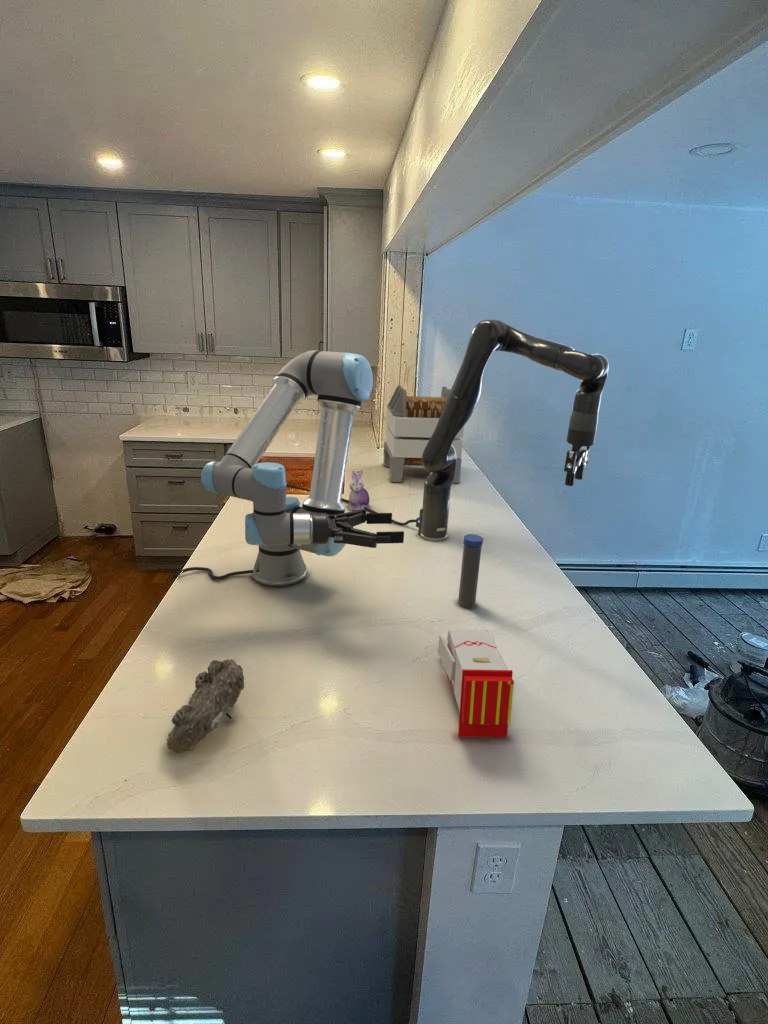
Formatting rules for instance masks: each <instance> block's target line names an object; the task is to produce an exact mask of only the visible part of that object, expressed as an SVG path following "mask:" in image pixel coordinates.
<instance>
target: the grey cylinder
mask: <svg viewBox="0 0 768 1024" xmlns="http://www.w3.org/2000/svg"><path fill="white" fill-rule="evenodd" d="M482 547H483V545H482V546H481V547H468V546H466V545H464V544H463V547H462V548H463V549H462V557H461V558H462V559H461V569H460V577H459V578H460V580H459V589H458V598H457V604H458V606H459V607H461V608H465V609H472V608H475V606H476V601H477V592H478V583H479V574H480V573H479V572H480V564H481V554H482Z"/></svg>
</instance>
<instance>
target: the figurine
mask: <svg viewBox="0 0 768 1024" xmlns="http://www.w3.org/2000/svg"><path fill="white" fill-rule="evenodd" d="M363 475H364V470H363V469H361V470H359V472H358V473H356V472H355V470H352V471H351V480H350V482H349V489H350V492H349V494H348V500H349V502H350V503H348V508H349V510H350V511H358V510H365V509H364V507H367V508H369V505H370V495H369V491H367V489H365V484H364V482H363Z"/></svg>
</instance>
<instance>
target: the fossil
mask: <svg viewBox="0 0 768 1024" xmlns="http://www.w3.org/2000/svg"><path fill="white" fill-rule="evenodd" d="M243 670H244V669H243V667H242V665H240V664H237V662H236V661H235V660H234V659H232V658H231V659H227V658H226V659H224V660H223V661H222V660H217V659H212V660H211V661H210V663H209V665H208V666H207V671H201V672H199V673H198V674H197V675H196V676H195V680H194V684H195V685H194V687H195V689H194V690H193V693H192V694H191V697H190V698H189V700H188V704H184V705H182V706H181V707H180V709H177V710H176V711H175V713H174V715H173V716H172V718H171V723H172V724H173V727H172V730H171V731H170V732H168V734H167V738H166V741H167V742H166V745H167V749H168V750H169V751H173V752H174V753H176V754H178V753H182V752H188V751H189V752H192V751H193V750H195V748H196V747H197V746H199V744H200V743H201V742H203V741H204V740H205V739H206V738H207V737H208V736H209V735H210V734H211V733H212V732H214V730H215V729H217V727H218V726H219V724H220V722H221V721H222V720H223V719H224V718H225V716H226V717H227V719H229V720H233V717H232V715H230V714H229V710H230V709H231V708H234V706H235V704H236V703H237V702H238V699H239V697H240V695H241V693H242V691H243V690H245V689H244V688H245V675H244V671H243Z"/></svg>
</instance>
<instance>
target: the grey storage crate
mask: <svg viewBox="0 0 768 1024" xmlns="http://www.w3.org/2000/svg"><path fill="white" fill-rule="evenodd" d="M450 391H451V388H447V386H442V387H441V392H440V393H441V394H440V396H415V395H414V396H413V395H412V396H411V395H407V394H408V393H407V390H406V389H404V388H403V387H402V385H399V384H398V385H397V386H396V388H395V390H394V392H393V394H392V395H391V398H390V400H389V402H388V404H387V405H386V413H385V414H386V415H385V423H386V428H385V438H384V442H383V466H384V467H388V468H389V475H388V476H389V477H388V478H389V480H390V482H391V483H402V482H403V475H404V469H405V466H406V467H407V466H411V467H412V466H413V467H415V466H416V467H417V466H418V467H424V466H423V464H422V454H423V451H424V449H425V447H426V445H427V444H428V442H429V440H430V438H431V436H432V434H433V432H434V430H435V428H436V426H437V423H438V421H439V418H440V416H441V413H442V411H443V408H444V406H445V403H446V400H447V398H448V395H449V393H450ZM464 429H465V425H464V426H463V428H462V429H461V430H460V431H459V433H458V434H457V435H456V437H455V438H454V440H453V442H452V444H451V445H452V446H453V447H454V449H455V451H456V468H455V476H454V481H453V483H452V484H455V483H456V484H459V483H461V472H462V461H463V460H462V453H463V442H464V441H463V440H462V439H463V438H464V431H465V430H464Z"/></svg>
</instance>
